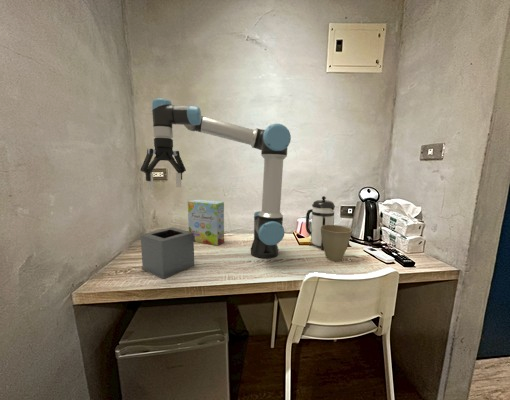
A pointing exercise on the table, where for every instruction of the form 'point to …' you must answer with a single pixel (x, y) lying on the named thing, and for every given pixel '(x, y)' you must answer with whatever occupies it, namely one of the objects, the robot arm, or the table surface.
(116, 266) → the table surface
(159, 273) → the metal box
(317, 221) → the coffee press
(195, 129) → the robot arm
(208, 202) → the snack box
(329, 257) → the plant pot
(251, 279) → the table surface
